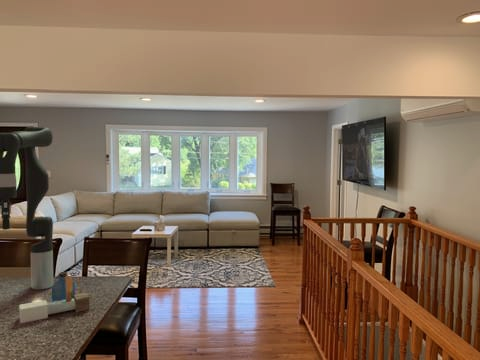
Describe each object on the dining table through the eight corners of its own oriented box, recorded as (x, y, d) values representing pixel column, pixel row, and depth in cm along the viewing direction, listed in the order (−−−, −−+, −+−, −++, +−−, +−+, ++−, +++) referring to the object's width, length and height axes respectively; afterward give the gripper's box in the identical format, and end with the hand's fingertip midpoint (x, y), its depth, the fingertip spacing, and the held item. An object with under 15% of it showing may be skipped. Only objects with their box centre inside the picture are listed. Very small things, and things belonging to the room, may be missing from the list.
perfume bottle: (74, 298, 157) (74, 271, 157) (63, 304, 152) (63, 276, 151) (63, 297, 159) (63, 270, 159) (52, 302, 154) (51, 274, 153)
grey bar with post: (37, 313, 140) (36, 279, 140) (82, 304, 149) (81, 272, 148) (38, 316, 137) (37, 281, 137) (83, 307, 146) (83, 274, 145)
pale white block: (19, 318, 138) (19, 304, 137) (46, 312, 143) (46, 300, 142) (20, 323, 133) (19, 309, 133) (47, 317, 138) (47, 304, 138)
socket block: (73, 307, 148) (73, 295, 148) (86, 304, 151) (86, 292, 151) (76, 311, 144) (75, 299, 144) (89, 309, 147) (89, 296, 146)
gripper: (17, 186, 135) (18, 229, 135) (15, 184, 147) (16, 223, 147) (-8, 187, 131) (-7, 231, 131) (-7, 184, 142) (-6, 225, 143)
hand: (6, 227), depth 139 cm, fingers open, 8 cm apart
